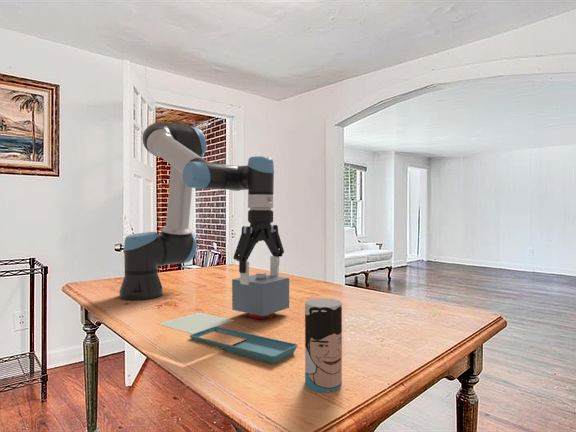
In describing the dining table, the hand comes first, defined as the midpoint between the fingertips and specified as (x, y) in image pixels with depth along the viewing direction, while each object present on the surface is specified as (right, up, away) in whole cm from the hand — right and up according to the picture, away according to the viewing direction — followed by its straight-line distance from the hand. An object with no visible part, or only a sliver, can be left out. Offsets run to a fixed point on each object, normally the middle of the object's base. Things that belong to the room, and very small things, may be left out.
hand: (260, 280), depth 116 cm
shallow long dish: (-3, -12, -25) cm, 28 cm away
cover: (0, -8, 0) cm, 8 cm away
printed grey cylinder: (+15, -12, -44) cm, 48 cm away
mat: (-17, -11, -7) cm, 22 cm away
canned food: (0, -11, 0) cm, 11 cm away
